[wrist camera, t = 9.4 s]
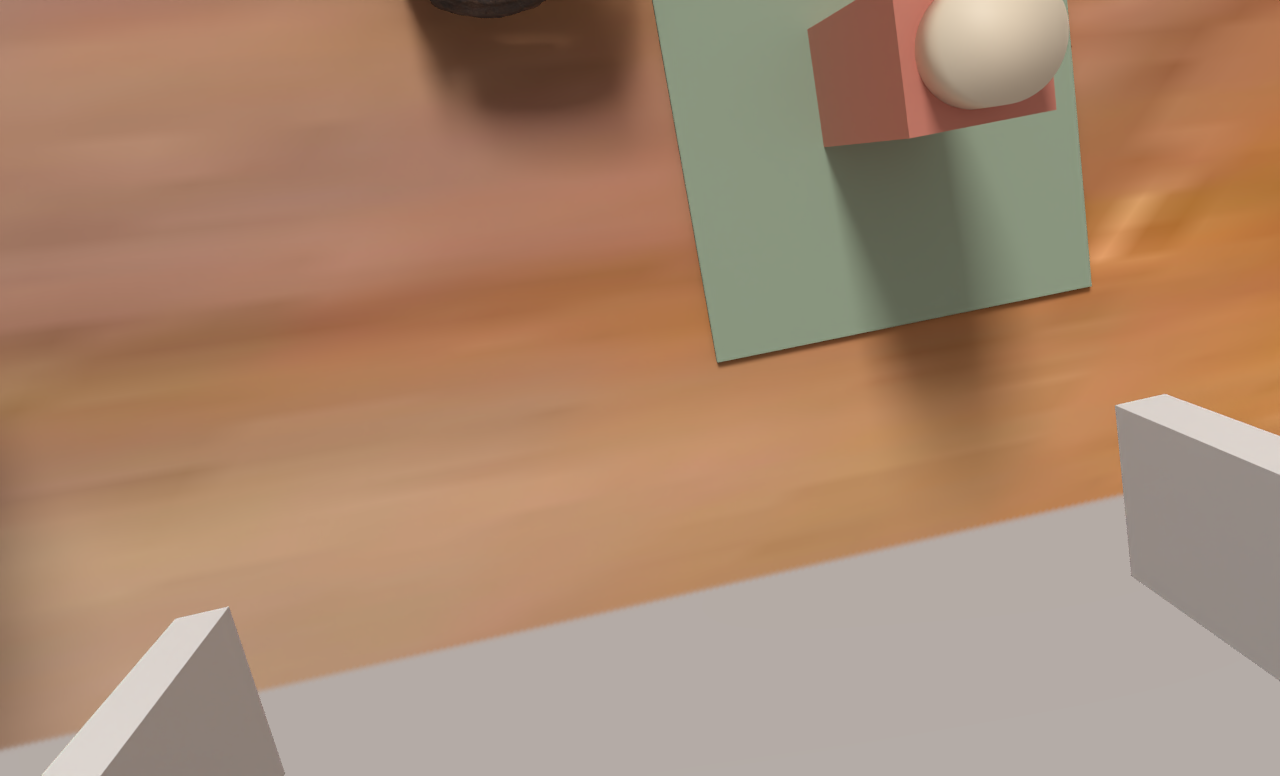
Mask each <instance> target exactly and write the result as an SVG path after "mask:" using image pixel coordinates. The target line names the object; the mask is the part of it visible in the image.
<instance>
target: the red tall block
mask: <svg viewBox="0 0 1280 776" xmlns="http://www.w3.org/2000/svg"><path fill="white" fill-rule="evenodd" d="M807 31H808V38H809V45H810V52H811V59H812V67H813V74H814V81H815V88H816V95H817V102H818V109H819V116H820V123H821V130H822V137H823V144H824V147H831V146H841V145H851V144H861V143H870V142H880V141H890V140H900V139H909V138H915V137H920V136H925V135H930V134H935V133H940V132H945V131H950V130H955V129H961V128H966V127H971V126H976V125H981V124H986V123H991V122H996V121H1001V120H1007V119H1012V118H1017V117H1022V116H1027V115H1032V114H1037V113H1042V112H1047V111H1053V110H1057V109H1056V98H1055V86H1054V75H1055V74H1056V72H1057V71H1058V69H1059V68H1060V65H1061V63H1062V61H1063V59H1064V56H1065V53H1066V50H1067V46H1068V40H1069V20H1068V14H1067V10H1066V7H1065V4H1064V2H1063V0H855V1H853V2H852V3H850V4H848V5H847V6H845V7H843V8H842V9H840V10H838V11H837V12H835V13H834V14H832V15H830V16H829V17H827V18H825V19H824V20H822V21H820V22H819V23H817V24H815V25H814V26H812V27H811V28H809V29H807Z"/></svg>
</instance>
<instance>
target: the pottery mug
mask: <svg viewBox="0 0 1280 776" xmlns="http://www.w3.org/2000/svg"><path fill="white" fill-rule="evenodd" d="M430 1H431V3H432V4H433V5H434V6H435V7H437V8H439V9H442V10H445V11H449V12H451V13H455V14H459V15H467V16H473V17H479V18H500V17H504V16H508V15H512V14H516V13H519V12H521V11H524V10H528V9H531V8H534V7H537V6H538V5H540V4H541V2H543V1H546V0H430Z"/></svg>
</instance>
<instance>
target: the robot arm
mask: <svg viewBox="0 0 1280 776" xmlns="http://www.w3.org/2000/svg"><path fill="white" fill-rule="evenodd" d="M1115 410H1116V420H1117V431H1118V441H1119V451H1120V462H1121V472H1122V483H1123V493H1124V503H1125V513H1126V524H1127V534H1128V545H1129V554H1130V566H1131V576H1132V577H1134V578H1135V579H1137V580H1138V581H1139V582H1141V583H1142V584H1144V585H1145V586H1146V587H1148V588H1149V589H1151V590H1152V591H1154V592H1155V593H1157V594H1158V595H1159V596H1161V597H1162V598H1163V599H1165V600H1166V601H1168V602H1169V603H1171V604H1172V605H1174V606H1175V607H1176V608H1178V609H1179V610H1180V611H1182V612H1183V613H1185V614H1186V615H1187V616H1189V617H1190V618H1192V619H1193V620H1194V621H1196V622H1197V623H1199V624H1200V625H1202V626H1203V627H1204V628H1206V629H1207V630H1209V631H1210V632H1212V633H1213V634H1214V635H1216V636H1217V637H1218V638H1220V639H1221V640H1223V641H1224V642H1226V643H1227V644H1228V645H1230V646H1231V647H1233V648H1234V649H1236V650H1237V651H1238V652H1240V653H1241V654H1242V655H1244V656H1245V657H1247V658H1248V659H1250V660H1251V661H1252V662H1254V663H1255V664H1257V665H1258V666H1259V667H1261V668H1262V669H1264V670H1265V671H1266V672H1268V673H1269V674H1271V675H1272V676H1274V677H1275V678H1276V679H1278V680H1279V681H1280V436H1278V435H1275V434H1273V433H1270V432H1267V431H1264V430H1262V429H1259V428H1256V427H1254V426H1251V425H1248V424H1245V423H1243V422H1240V421H1237V420H1235V419H1232V418H1229V417H1226V416H1224V415H1221V414H1218V413H1216V412H1213V411H1210V410H1207V409H1205V408H1202V407H1199V406H1197V405H1194V404H1191V403H1188V402H1186V401H1183V400H1180V399H1178V398H1175V397H1172V396H1169V395H1167V394H1163V395H1158V396H1154V397H1149V398H1145V399H1141V400H1136V401H1132V402H1127V403H1123V404H1119V405H1115ZM284 774H285V772H284V769H283V766H282V763H281V761H280V758H279V755H278V752H277V748H276V745H275V743H274V739H273V737H272V734H271V731H270V728H269V725H268V722H267V719H266V716H265V713H264V710H263V707H262V704H261V701H260V698H259V695H258V692H257V689H256V686H255V683H254V680H253V677H252V674H251V671H250V668H249V665H248V662H247V659H246V656H245V653H244V650H243V647H242V644H241V641H240V638H239V635H238V632H237V629H236V626H235V623H234V621H233V618H232V615H231V612H230V609H229V607H225V608H220V609H216V610H212V611H207V612H203V613H198V614H194V615H190V616H185V617H181V618H176V619H175V620H174V621H173V622H172V623H171V624H170V626H169V627H168V628H167V629H166V630H165V631H164V633H163V634H162V635H161V636H160V637H159V638H158V640H157V641H156V642H155V643H154V644H153V645H152V647H151V648H150V649H149V650H148V651H147V652H146V654H145V655H144V656H143V657H142V658H141V659H140V661H139V662H138V663H137V664H136V665H135V666H134V668H133V669H132V670H131V671H130V672H129V673H128V675H127V676H126V677H125V678H124V679H123V680H122V682H121V683H120V684H119V685H118V686H117V687H116V689H115V690H114V691H113V692H112V693H111V694H110V696H109V697H108V698H107V699H106V700H105V701H104V703H103V704H102V705H101V706H100V707H99V708H98V710H97V711H96V712H95V713H94V714H93V715H92V717H91V718H90V719H89V720H88V721H87V722H86V724H85V725H84V726H83V727H82V728H81V729H80V731H79V732H78V733H77V734H76V735H75V736H74V738H73V739H72V740H71V741H70V742H69V744H68V745H67V746H66V747H65V748H64V749H63V750H62V752H61V753H60V754H59V755H58V756H57V757H56V759H55V760H54V761H53V762H52V763H51V765H50V766H49V767H48V768H47V769H46V770H45V771H44V773H43V774H42V775H41V776H284Z"/></svg>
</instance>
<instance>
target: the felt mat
mask: <svg viewBox="0 0 1280 776" xmlns="http://www.w3.org/2000/svg"><path fill="white" fill-rule="evenodd" d="M853 1H855V0H652V2H653V7H654V13H655V19H656V24H657V30H658V35H659V41H660V47H661V52H662V58H663V63H664V69H665V75H666V80H667V86H668V91H669V97H670V103H671V108H672V114H673V119H674V125H675V130H676V136H677V142H678V147H679V153H680V158H681V164H682V170H683V175H684V181H685V186H686V192H687V198H688V203H689V209H690V214H691V220H692V226H693V231H694V237H695V242H696V248H697V253H698V259H699V265H700V270H701V276H702V281H703V287H704V293H705V298H706V304H707V309H708V315H709V321H710V326H711V332H712V337H713V343H714V349H715V354H716V360H717V363H718V362H723V361H728V360H733V359H738V358H743V357H748V356H752V355H757V354H762V353H767V352H772V351H777V350H782V349H787V348H792V347H796V346H801V345H806V344H811V343H816V342H821V341H826V340H831V339H836V338H841V337H845V336H850V335H855V334H860V333H865V332H870V331H875V330H880V329H885V328H889V327H894V326H899V325H904V324H909V323H914V322H919V321H924V320H929V319H933V318H938V317H943V316H948V315H953V314H958V313H963V312H968V311H973V310H977V309H982V308H987V307H992V306H997V305H1002V304H1007V303H1012V302H1017V301H1022V300H1026V299H1031V298H1036V297H1041V296H1046V295H1051V294H1056V293H1061V292H1066V291H1070V290H1075V289H1080V288H1085V287H1090V286H1092V284H1091V273H1090V261H1089V250H1088V238H1087V226H1086V215H1085V203H1084V192H1083V180H1082V168H1081V157H1080V145H1079V134H1078V122H1077V110H1076V99H1075V87H1074V76H1073V64H1072V53H1071V41H1070V29H1069V40H1068V46H1067V50H1066V53H1065V56H1064V59H1063V61H1062V63H1061V65H1060V68H1059V69H1058V71H1057V72H1056V74H1055V75H1054V86H1055V98H1056V109H1057V110H1053V111H1047V112H1042V113H1037V114H1032V115H1027V116H1022V117H1017V118H1012V119H1007V120H1001V121H996V122H991V123H986V124H981V125H976V126H971V127H966V128H961V129H955V130H950V131H945V132H940V133H935V134H930V135H925V136H920V137H915V138H909V139H900V140H890V141H880V142H870V143H861V144H851V145H841V146H831V147H824V144H823V137H822V130H821V123H820V116H819V109H818V102H817V95H816V88H815V81H814V74H813V67H812V59H811V52H810V45H809V38H808V31H807V29H809V28H811V27H812V26H814V25H815V24H817V23H819V22H820V21H822V20H824V19H825V18H827V17H829V16H830V15H832V14H834V13H835V12H837V11H838V10H840V9H842V8H843V7H845V6H847V5H848V4H850V3H852V2H853ZM1063 2H1064V4H1065V7H1066V10H1067V14H1068V6H1067V0H1063ZM1068 20H1069V18H1068Z"/></svg>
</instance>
